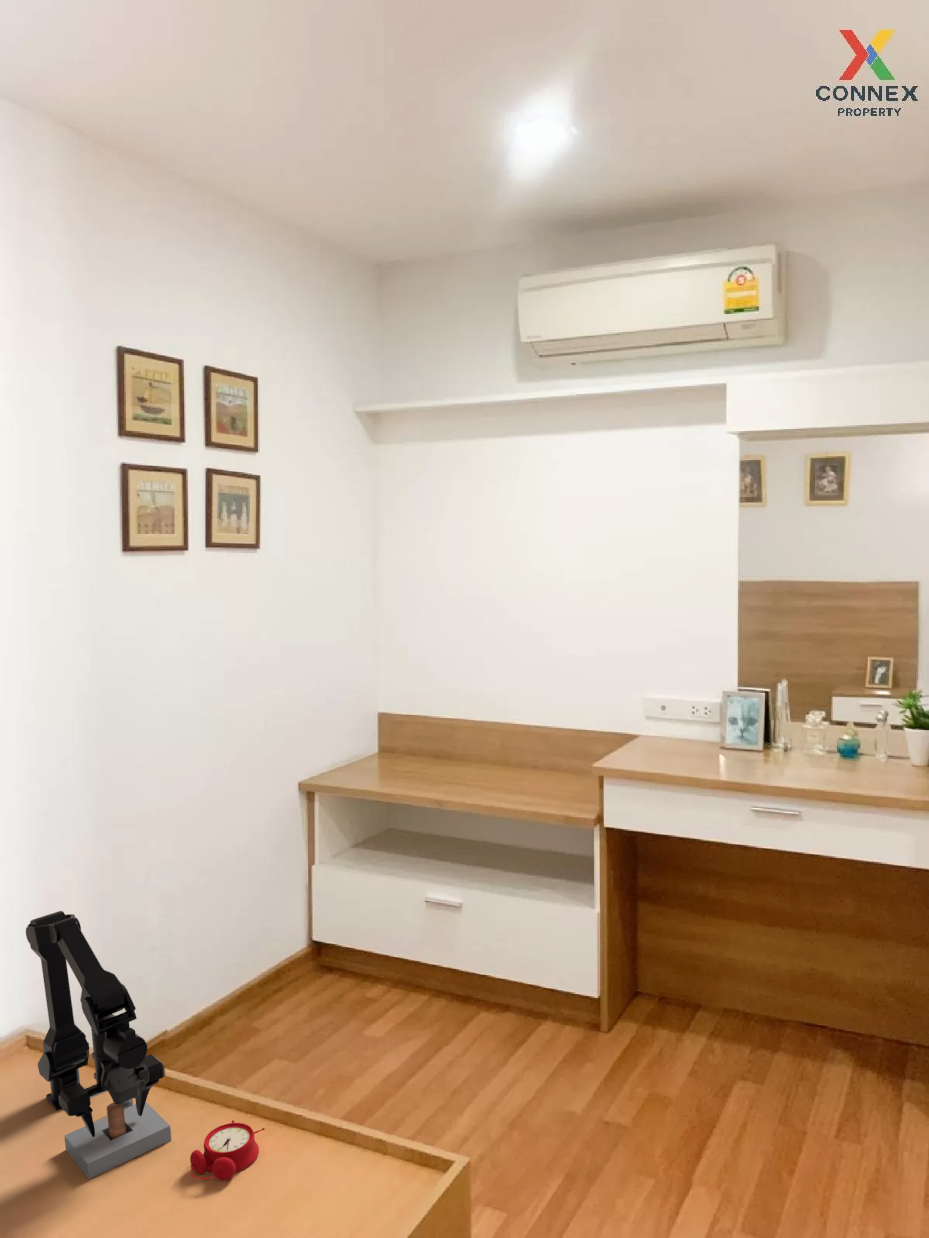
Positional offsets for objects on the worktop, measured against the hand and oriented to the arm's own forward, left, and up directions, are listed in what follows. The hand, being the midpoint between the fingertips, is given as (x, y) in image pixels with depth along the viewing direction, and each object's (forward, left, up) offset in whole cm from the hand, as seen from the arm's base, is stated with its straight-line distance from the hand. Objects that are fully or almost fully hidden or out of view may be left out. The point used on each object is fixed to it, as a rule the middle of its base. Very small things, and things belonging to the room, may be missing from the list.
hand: (116, 1125), depth 193 cm
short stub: (-10, +6, -4) cm, 12 cm away
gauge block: (0, 0, -4) cm, 4 cm away
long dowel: (0, 0, -4) cm, 4 cm away
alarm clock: (+20, +12, -4) cm, 24 cm away
